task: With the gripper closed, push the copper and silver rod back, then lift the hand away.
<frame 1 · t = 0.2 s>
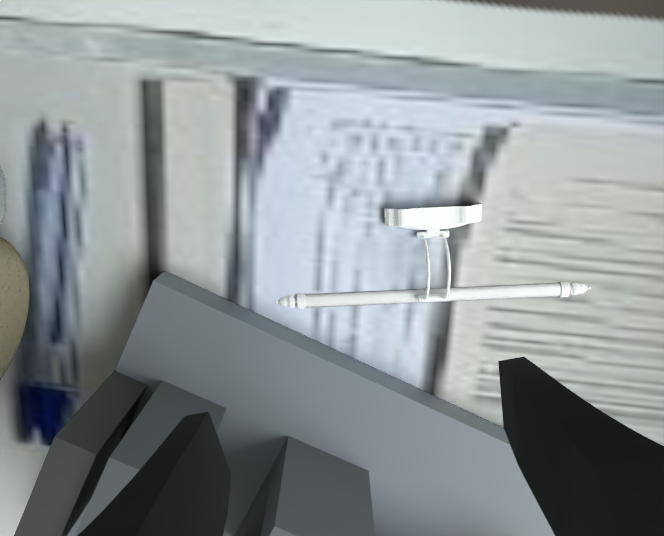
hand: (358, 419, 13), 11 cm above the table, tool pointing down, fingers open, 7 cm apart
picture light: (429, 251, 23), on the table
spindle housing: (338, 498, 26), on the table
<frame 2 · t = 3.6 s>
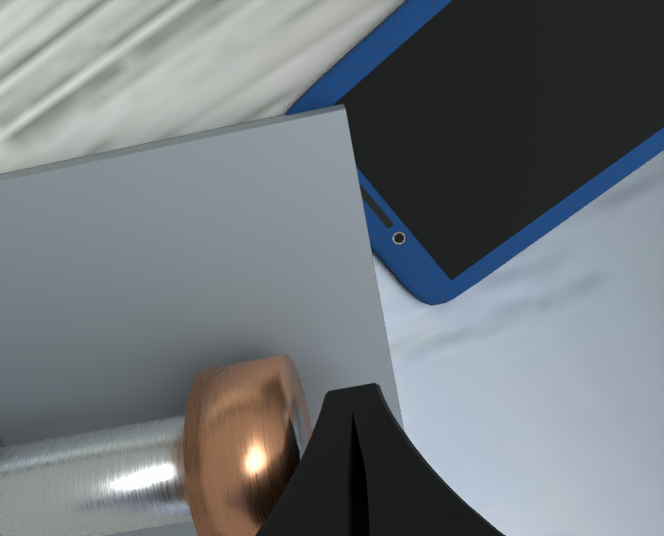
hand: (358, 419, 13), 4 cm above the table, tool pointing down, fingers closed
cell phone: (554, 58, 14), on the table
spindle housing: (21, 397, 17), on the table
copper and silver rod: (50, 489, 13), point 4 cm above the table, slide at 7.0 cm, touching gripper
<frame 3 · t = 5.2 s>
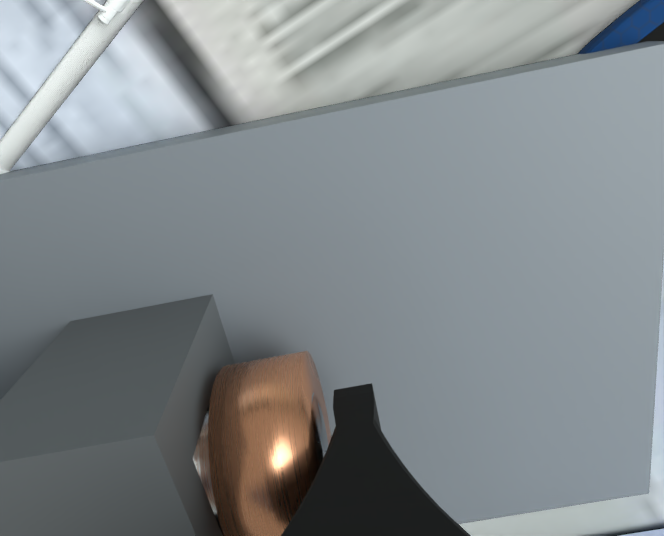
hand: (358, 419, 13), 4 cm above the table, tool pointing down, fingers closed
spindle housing: (248, 356, 17), on the table
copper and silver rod: (69, 486, 13), point 4 cm above the table, slide at -0.1 cm, touching gripper
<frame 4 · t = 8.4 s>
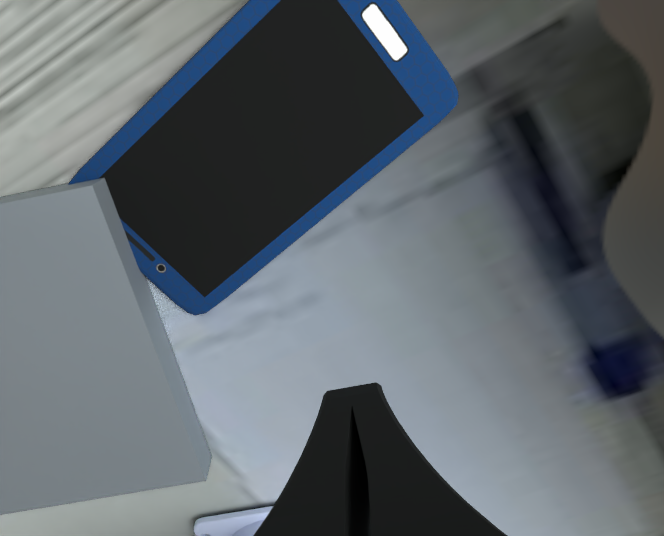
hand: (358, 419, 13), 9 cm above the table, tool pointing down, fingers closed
cell phone: (258, 144, 20), on the table
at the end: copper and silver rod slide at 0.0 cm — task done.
